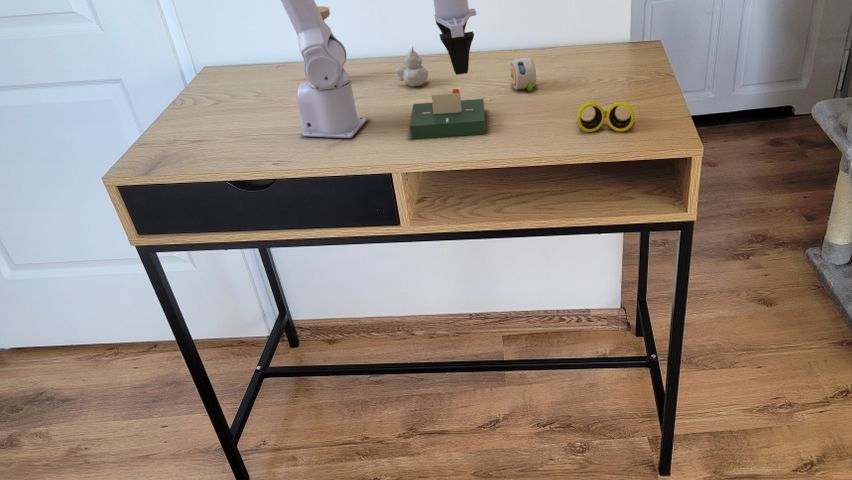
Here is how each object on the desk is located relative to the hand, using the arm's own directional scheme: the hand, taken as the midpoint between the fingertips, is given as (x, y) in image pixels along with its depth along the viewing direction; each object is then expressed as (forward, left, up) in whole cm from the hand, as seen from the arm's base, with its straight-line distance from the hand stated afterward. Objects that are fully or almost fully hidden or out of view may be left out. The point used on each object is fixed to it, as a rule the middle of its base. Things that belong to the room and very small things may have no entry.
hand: (459, 66), depth 132 cm
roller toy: (+8, +15, -10) cm, 20 cm away
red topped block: (-2, -3, -7) cm, 8 cm away
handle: (-34, +15, -10) cm, 38 cm away
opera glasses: (+26, -2, -10) cm, 28 cm away
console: (-2, -3, -10) cm, 10 cm away
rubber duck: (-15, +15, -10) cm, 23 cm away
